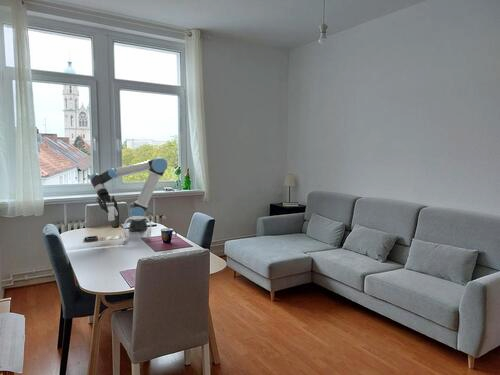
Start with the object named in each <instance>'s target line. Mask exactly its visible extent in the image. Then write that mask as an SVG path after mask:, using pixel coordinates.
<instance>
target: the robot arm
mask: <svg viewBox="0 0 500 375" xmlns="http://www.w3.org/2000/svg"><path fill="white" fill-rule="evenodd" d="M167 169H168V161H167V160H166V159H165V158H164V157H159V156H158V157H154V158H153V159H148V160H147V161H144V162H139V163H134V164H130V165H129V164H128V165H125V166H120V167H115V168H113V167H112V168H109V169H107V170H106V171H104V172H102V173H101V174H98V173H93V174H91V175H90V176H89V180H90V183H91V185H92V187H93V188H94V190H95V193H96V194H97V196H98V197H96V199H95V201H97V203H98V205H99V208H100V209H101V210H104V211H105V213H106V214H107V216H108V215H109V217H111V215H112V214H111V212H110V210H109V208H108V206H107V204H108V203H111V202H113V203H114V216H116V217H117V216H118V215H119V213H118V208H117V207H118V203H117V202H116V199H115V195H112V196H111V195H110V194H109V191H108V190H107V187H106V185H105V184H106V183H108V182H109V181H112V180H113V179H117V178H120V177H125V176H131V175H134V174H140V173H144V172H149V173H148V176H147V178H146V181H145V182H144V185H143V188H142V189H141V191H140V194H139V196H138V198H137V200H135V201H134V202H130V205H129V208H130V210H129V217H134V216H144V217H146V213H147V211H148V209H149V202H150V200H151V198H152V197H153V196H152V195H153V193H154V191H155V189H156V187H157V184H158V182H159V180H160V178H161V177H164V174H165V172H166V170H167ZM148 226H149V225H148V224H147V219H146V218H144V219H134V220H131V219H130V223H129V226H128V230H129V231H130V232H143V231H147V228H148Z"/></svg>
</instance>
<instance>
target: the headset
mask: <svg viewBox="0 0 500 375" xmlns="http://www.w3.org/2000/svg"><path fill="white" fill-rule="evenodd" d="M144 218H145V220H146V221H147V222H148V224H149V227H148V228H147V230H146V238H150V239H149V240H151V238H152V227H153V226H152V222H151V221H150V219H149V218H148V217H146V216H145V217H144V216H134V217H130V216H129V217H128V218H127V219H125V221H124V224H123V227H122V228H123V234H124V235H123V236H124V240H126V239H127V240H128V239H129V238H130V232H129V228H126V224H127V223H128V221H129V220H130V221H131V220H134V219H144Z"/></svg>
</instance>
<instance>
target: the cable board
mask: <svg viewBox="0 0 500 375" xmlns="http://www.w3.org/2000/svg"><path fill="white" fill-rule="evenodd" d="M120 239H123V238H122V236H121V235H112V236H104V237H102V236H101V237H99V236H98V235H90V236H85V237H84V239H83V240H82V241H83V243H93V242H94V243H95V242H102V241H111V240H120Z"/></svg>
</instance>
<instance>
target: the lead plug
mask: <svg viewBox="0 0 500 375" xmlns="http://www.w3.org/2000/svg"><path fill="white" fill-rule="evenodd" d="M106 205H107V208H109V210H110V212H111V214H112V215H111V217H109V215H108V214H107V216H108V217H107V219H108V220H107V221H109V222H112V221H115V220H116V218H115V216H116V215H115V213H114V203H113V202H111V203H108V202H107V203H106Z"/></svg>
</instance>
